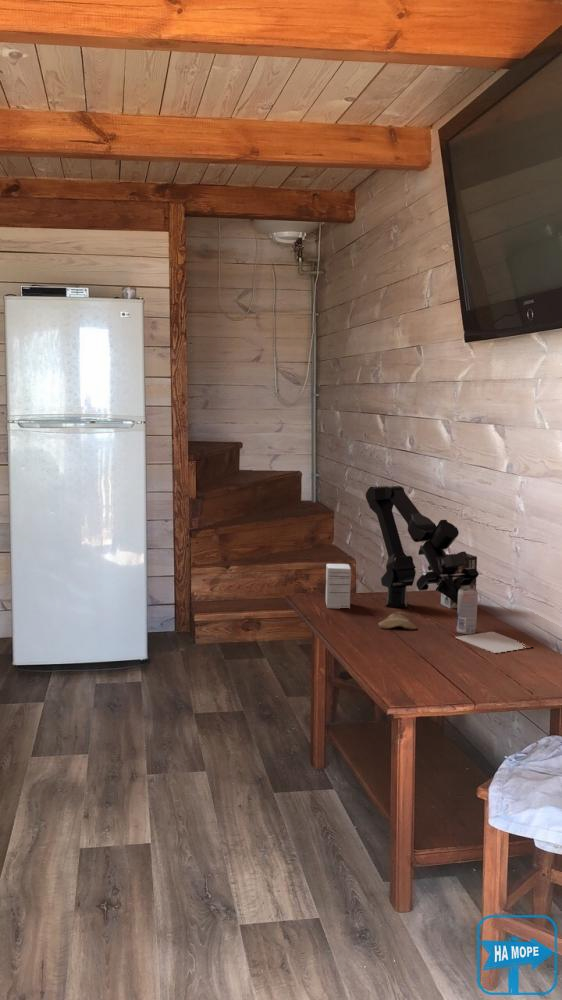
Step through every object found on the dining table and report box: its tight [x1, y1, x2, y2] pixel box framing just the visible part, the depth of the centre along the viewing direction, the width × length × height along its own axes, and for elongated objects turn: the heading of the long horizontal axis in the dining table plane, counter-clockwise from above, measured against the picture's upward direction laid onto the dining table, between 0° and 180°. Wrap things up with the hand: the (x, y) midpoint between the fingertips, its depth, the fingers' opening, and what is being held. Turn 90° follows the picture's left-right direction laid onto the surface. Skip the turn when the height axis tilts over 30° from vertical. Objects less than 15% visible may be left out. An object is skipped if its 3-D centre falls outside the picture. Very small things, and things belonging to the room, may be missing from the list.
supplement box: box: [325, 563, 352, 609], centre depth 269 cm, size 7×7×13 cm
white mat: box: [455, 631, 526, 654], centre depth 232 cm, size 16×13×1 cm
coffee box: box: [440, 553, 478, 609], centre depth 272 cm, size 9×6×16 cm
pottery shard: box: [378, 611, 417, 630], centre depth 248 cm, size 11×4×10 cm
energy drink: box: [455, 588, 479, 635], centre depth 242 cm, size 5×5×12 cm
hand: (460, 603), depth 244 cm, fingers closed
